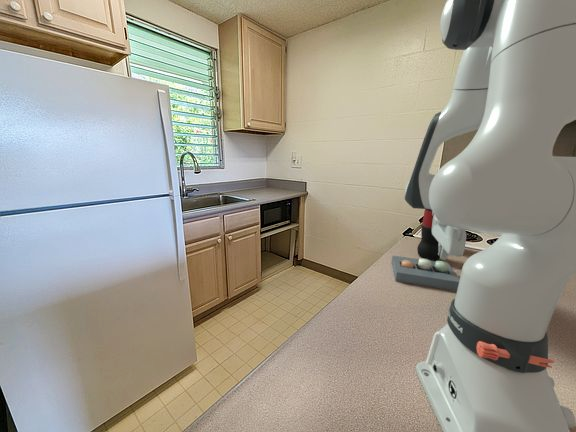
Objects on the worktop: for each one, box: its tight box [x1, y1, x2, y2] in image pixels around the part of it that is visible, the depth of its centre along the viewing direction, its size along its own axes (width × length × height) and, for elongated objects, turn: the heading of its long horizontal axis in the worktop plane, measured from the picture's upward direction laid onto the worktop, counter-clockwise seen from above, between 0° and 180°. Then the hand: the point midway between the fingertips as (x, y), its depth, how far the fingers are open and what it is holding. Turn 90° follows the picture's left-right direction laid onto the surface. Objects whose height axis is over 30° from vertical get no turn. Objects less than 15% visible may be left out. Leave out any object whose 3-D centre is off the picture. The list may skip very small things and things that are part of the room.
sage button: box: [435, 260, 450, 272], centre depth 79 cm, size 4×4×2 cm
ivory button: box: [418, 258, 432, 269], centre depth 80 cm, size 4×4×2 cm
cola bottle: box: [417, 209, 441, 261], centre depth 92 cm, size 8×8×30 cm
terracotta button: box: [401, 260, 414, 268], centre depth 82 cm, size 4×4×2 cm
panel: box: [391, 255, 460, 292], centre depth 81 cm, size 14×18×3 cm
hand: (442, 257), depth 78 cm, fingers closed
